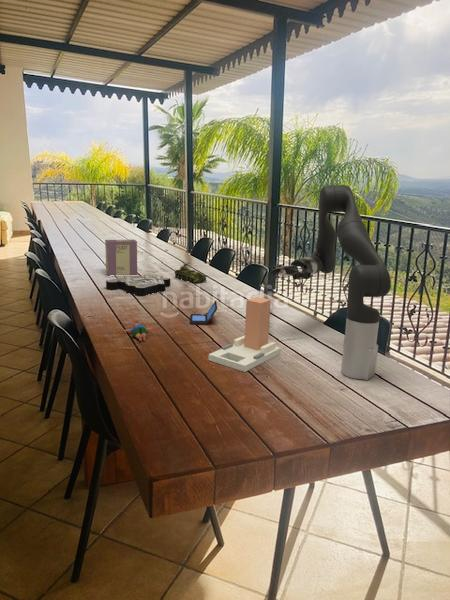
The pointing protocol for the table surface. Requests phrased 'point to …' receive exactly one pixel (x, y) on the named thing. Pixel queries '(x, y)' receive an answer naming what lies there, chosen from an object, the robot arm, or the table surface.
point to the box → (121, 257)
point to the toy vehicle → (189, 274)
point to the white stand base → (244, 355)
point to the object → (203, 316)
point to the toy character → (139, 331)
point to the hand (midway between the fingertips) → (282, 274)
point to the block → (257, 322)
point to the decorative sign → (139, 284)
